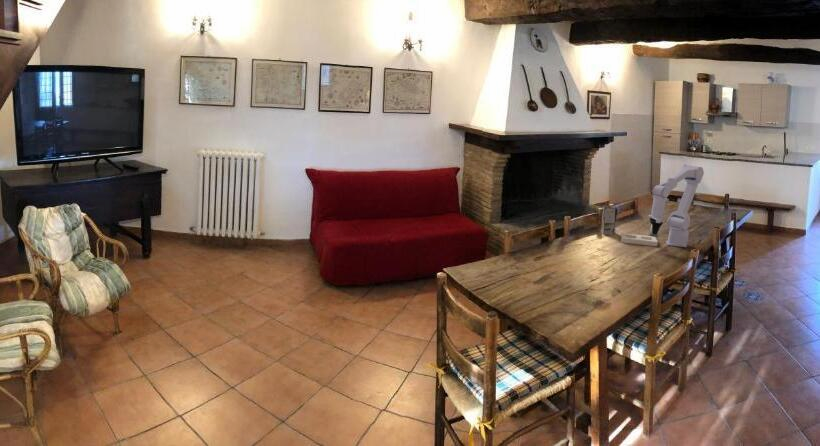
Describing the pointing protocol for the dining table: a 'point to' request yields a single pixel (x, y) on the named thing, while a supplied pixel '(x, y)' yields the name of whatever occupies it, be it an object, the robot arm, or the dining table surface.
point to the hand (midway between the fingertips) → (654, 232)
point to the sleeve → (652, 234)
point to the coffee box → (608, 220)
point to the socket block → (638, 239)
